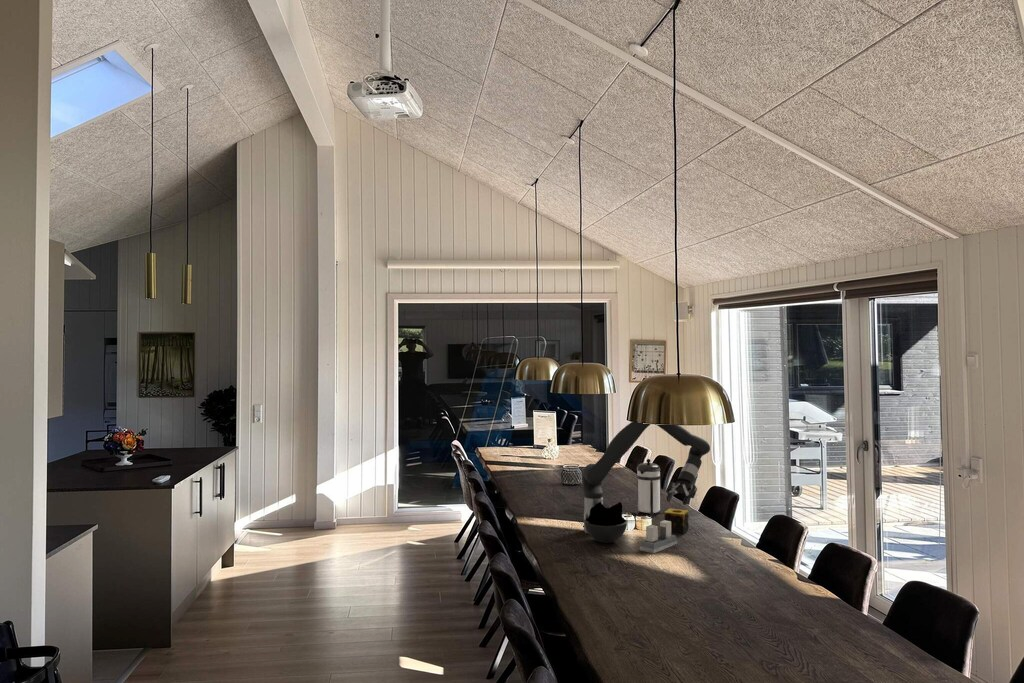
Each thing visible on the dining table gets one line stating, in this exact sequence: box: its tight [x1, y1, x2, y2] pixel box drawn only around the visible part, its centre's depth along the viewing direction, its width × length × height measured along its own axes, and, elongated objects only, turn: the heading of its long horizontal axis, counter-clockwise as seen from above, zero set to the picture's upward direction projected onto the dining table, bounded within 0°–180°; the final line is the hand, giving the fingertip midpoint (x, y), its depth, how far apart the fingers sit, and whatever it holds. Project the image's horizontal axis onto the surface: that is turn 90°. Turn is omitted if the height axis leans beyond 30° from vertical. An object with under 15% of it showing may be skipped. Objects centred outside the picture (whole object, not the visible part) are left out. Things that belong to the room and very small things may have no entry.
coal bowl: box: [583, 501, 628, 544], centre depth 324 cm, size 20×20×19 cm
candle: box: [663, 507, 690, 535], centre depth 343 cm, size 10×10×10 cm
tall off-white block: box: [659, 519, 672, 538], centre depth 319 cm, size 4×4×9 cm
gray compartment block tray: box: [639, 524, 678, 554], centre depth 315 cm, size 20×7×10 cm, turn 136°
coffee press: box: [634, 458, 663, 517], centre depth 381 cm, size 17×16×30 cm
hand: (675, 502), depth 328 cm, fingers open, 8 cm apart
